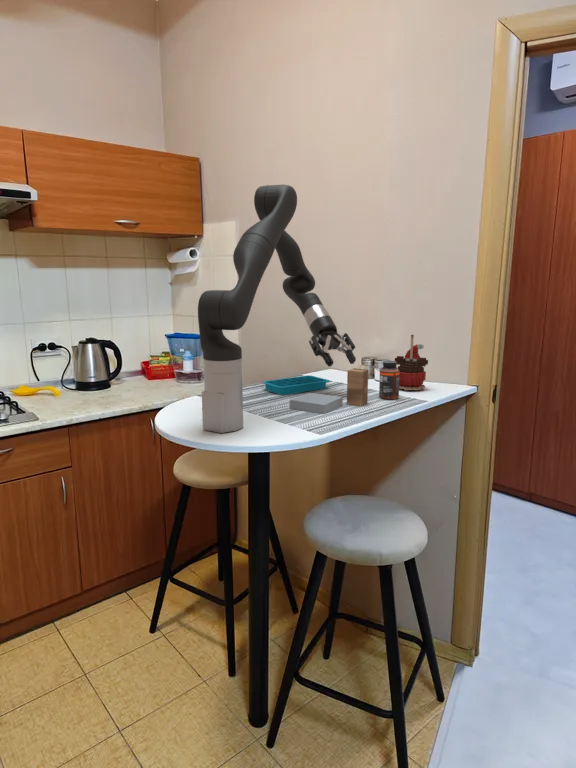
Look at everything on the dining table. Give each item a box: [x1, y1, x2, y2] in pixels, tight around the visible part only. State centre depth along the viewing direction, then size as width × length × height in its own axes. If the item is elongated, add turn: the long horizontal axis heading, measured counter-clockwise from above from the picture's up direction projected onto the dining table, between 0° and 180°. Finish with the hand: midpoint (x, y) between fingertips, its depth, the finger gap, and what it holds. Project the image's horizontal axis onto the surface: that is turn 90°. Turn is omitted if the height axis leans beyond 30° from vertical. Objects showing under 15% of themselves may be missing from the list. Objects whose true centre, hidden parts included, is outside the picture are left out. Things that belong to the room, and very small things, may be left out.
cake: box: [394, 334, 429, 391], centre depth 169 cm, size 11×9×18 cm
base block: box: [289, 392, 344, 415], centre depth 147 cm, size 11×11×3 cm
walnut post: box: [346, 367, 369, 407], centre depth 150 cm, size 4×4×10 cm
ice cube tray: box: [262, 375, 330, 396], centre depth 171 cm, size 12×20×3 cm, turn 124°
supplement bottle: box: [378, 360, 400, 400], centre depth 157 cm, size 6×6×11 cm
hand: (342, 363), depth 155 cm, fingers open, 8 cm apart
